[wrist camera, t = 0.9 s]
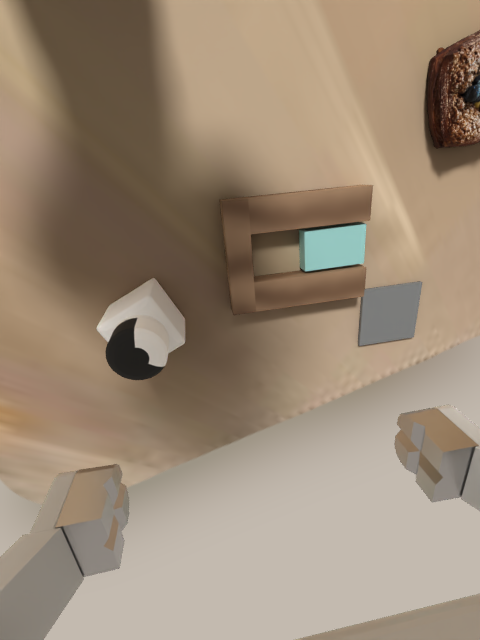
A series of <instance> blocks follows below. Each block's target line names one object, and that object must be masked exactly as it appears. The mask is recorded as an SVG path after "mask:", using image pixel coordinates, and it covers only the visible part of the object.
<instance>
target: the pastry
mask: <svg viewBox="0 0 480 640" xmlns="http://www.w3.org/2000/svg"><path fill="white" fill-rule="evenodd" d="M427 112H428V116H429V129H430V132H431V136H432V138H433V142H434V146H435V147H436V148H442V147H456V146H468V145H472V144H475V143H479V142H480V30H479V31H478V32H476V33H474V34H471V35H470V36H467V37H466V38H464V39H462V40H460V41H458V42H456V43H455V44H453V45H451V46H449V47H447V48H446V49H444V48H439V49H438V50H437V54H436V56H434V57H433V58H432V59H431V60H430V63H429V70H428V88H427Z"/></svg>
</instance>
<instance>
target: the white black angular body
mask: <svg viewBox="0 0 480 640" xmlns="http://www.w3.org/2000/svg"><path fill="white" fill-rule="evenodd" d="M97 331H98V332H99V333H100V334H101V335H102V336H103V338H104V339H105V340H106V341H107V342H108V344H107V347H106V359H107V362H108V364H109V366H110V367H111V368H112V370H113V371H115V372H116V373H117V374H118V375H120V376H122V377H124V378H127V379H132V380H144V379H148V378H151V377H153V376H155V375H157V374H158V373H159V372H160V371H161V370H162V369H163V368H164V367H165V365H166V362H167V359H168V353H170V352H172V351H173V350H175V349H177V348H178V347H180V346H181V345H183V344H184V343H185V318H184V317H183V315H182V314H181V313H180V311H179V310H178V309H177V307H176V306H175V305H174V303H173V302H172V301H171V299H170V298H169V297H168V295H167V294H166V293H165V291H164V290H163V289H162V287H161V286H160V285H159V283H158V282H157V280H156V279H155V278H152V279H150V280H149V281H147V282H145V283H144V284H142V285H141V286H139V287H137V288H136V289H134V290H133V291H131V292H130V293H128V294H126V295H125V296H123V297H122V298H120V299H118V300H117V301H115V302H114V303H112V304H111V305H109V307H108V308H107V310H106V312H105V314H104V315H103V317H102V319H101V321H100V322H99V324H98V326H97Z"/></svg>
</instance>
